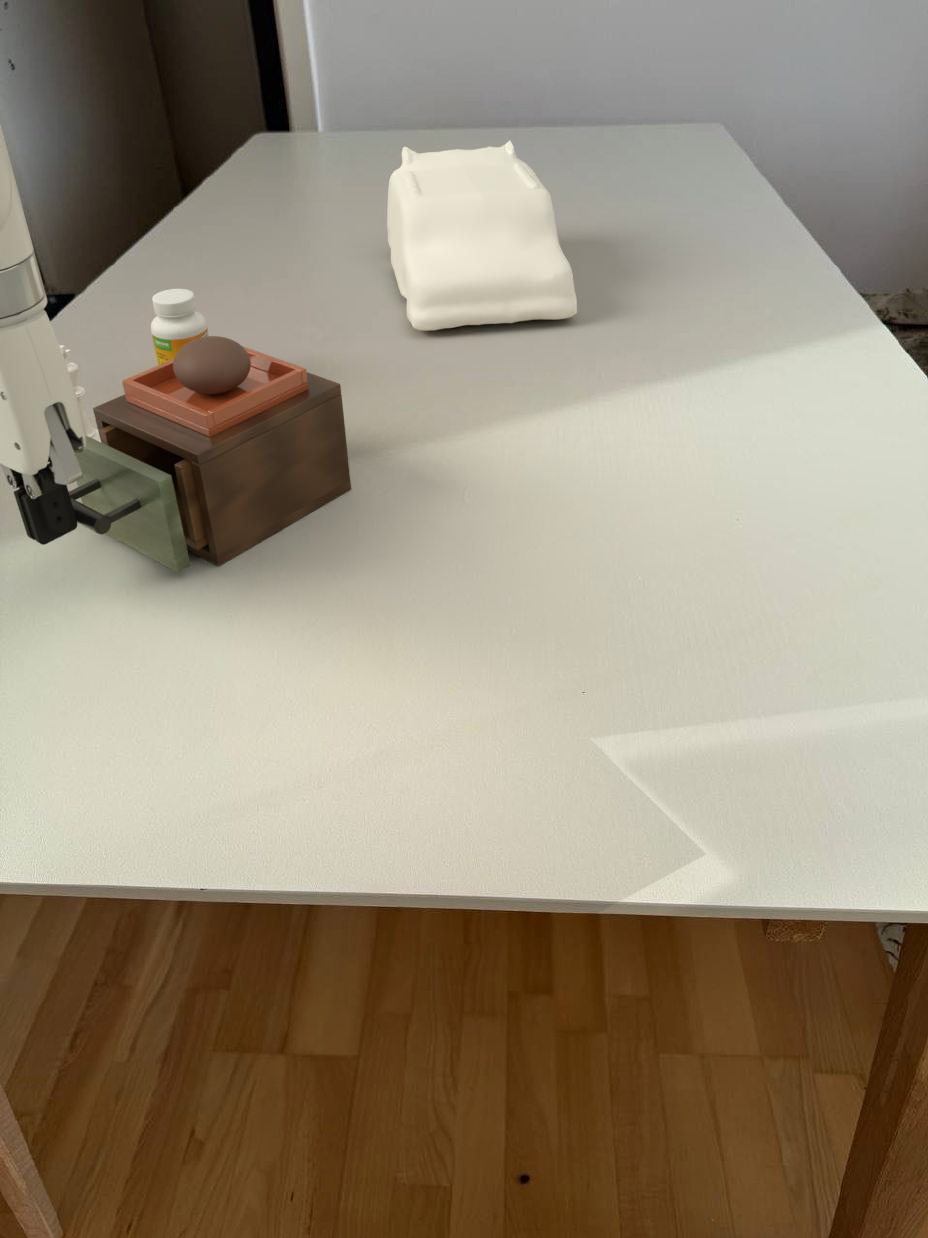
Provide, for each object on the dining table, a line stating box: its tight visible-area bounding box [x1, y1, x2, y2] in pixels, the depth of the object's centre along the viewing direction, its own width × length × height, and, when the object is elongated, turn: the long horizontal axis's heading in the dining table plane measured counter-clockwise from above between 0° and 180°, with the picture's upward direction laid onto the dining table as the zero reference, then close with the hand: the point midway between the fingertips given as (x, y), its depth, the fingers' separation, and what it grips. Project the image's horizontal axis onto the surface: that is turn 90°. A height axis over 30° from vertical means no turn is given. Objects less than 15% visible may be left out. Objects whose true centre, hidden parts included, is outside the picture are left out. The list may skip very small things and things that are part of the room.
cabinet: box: [92, 371, 352, 567], centre depth 90 cm, size 15×13×10 cm
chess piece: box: [59, 344, 101, 442], centre depth 98 cm, size 5×5×10 cm
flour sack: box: [386, 140, 578, 332], centre depth 128 cm, size 19×30×13 cm, turn 9°
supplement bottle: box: [150, 288, 210, 366], centre depth 108 cm, size 5×5×10 cm
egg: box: [173, 335, 251, 394], centre depth 86 cm, size 6×6×4 cm
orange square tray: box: [121, 345, 309, 437], centre depth 87 cm, size 10×10×2 cm
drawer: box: [68, 425, 208, 573], centre depth 86 cm, size 18×12×8 cm, turn 141°
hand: (53, 532), depth 80 cm, fingers closed
